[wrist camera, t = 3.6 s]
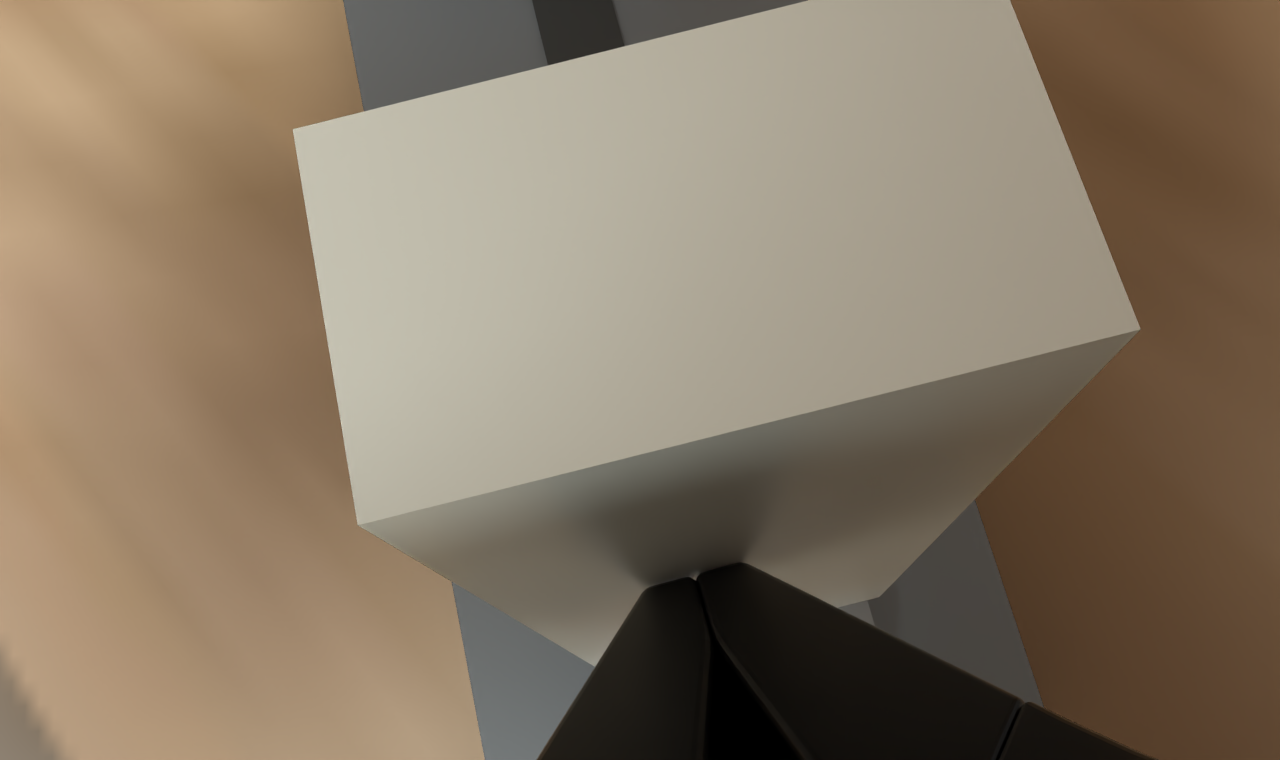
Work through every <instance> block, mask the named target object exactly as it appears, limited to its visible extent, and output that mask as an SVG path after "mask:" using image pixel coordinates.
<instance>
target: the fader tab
mask: <svg viewBox="0 0 1280 760" xmlns="http://www.w3.org/2000/svg"><path fill="white" fill-rule="evenodd" d="M293 134H294V140H295V146H296V152H297V158H298V165H299V171H300V177H301V183H302V189H303V195H304V201H305V207H306V213H307V219H308V225H309V232H310V238H311V244H312V250H313V256H314V262H315V268H316V274H317V280H318V286H319V293H320V299H321V305H322V311H323V317H324V323H325V329H326V335H327V341H328V347H329V353H330V360H331V366H332V372H333V378H334V384H335V390H336V396H337V402H338V408H339V414H340V420H341V427H342V433H343V439H344V445H345V451H346V457H347V463H348V469H349V475H350V481H351V487H352V494H353V500H354V506H355V512H356V518H357V524H358V526H360V527H361V528H363V529H365V530H366V531H368V532H370V533H372V534H373V535H375V536H377V537H378V538H380V539H382V540H383V541H385V542H387V543H388V544H390V545H392V546H393V547H395V548H397V549H398V550H400V551H402V552H403V553H405V554H407V555H408V556H410V557H412V558H413V559H415V560H417V561H418V562H420V563H422V564H423V565H425V566H427V567H428V568H430V569H432V570H433V571H435V572H437V573H439V574H440V575H442V576H444V577H445V578H447V579H449V580H450V581H452V582H454V583H455V584H457V585H459V586H460V587H462V588H464V589H465V590H467V591H469V592H470V593H472V594H474V595H475V596H477V597H479V598H480V599H482V600H484V601H485V602H487V603H489V604H490V605H492V606H494V607H495V608H497V609H499V610H500V611H502V612H504V613H505V614H507V615H509V616H511V617H512V618H514V619H516V620H517V621H519V622H521V623H522V624H524V625H526V626H527V627H529V628H531V629H532V630H534V631H536V632H537V633H539V634H541V635H542V636H544V637H546V638H547V639H549V640H551V641H552V642H554V643H556V644H557V645H559V646H561V647H562V648H564V649H566V650H567V651H569V652H571V653H572V654H574V655H576V656H578V657H579V658H581V659H583V660H584V661H586V662H588V663H589V664H591V665H593V666H594V667H595V666H596V665H597V663H598V661H599V660H600V658H601V657H602V655H603V653H604V652H605V650H606V649H607V647H608V646H609V644H610V642H611V641H612V639H613V638H614V636H615V635H616V633H617V631H618V630H619V628H620V627H621V625H622V623H623V622H624V620H625V619H626V617H627V616H628V614H629V612H630V611H631V609H632V608H633V606H634V604H635V603H636V601H637V600H638V598H639V597H640V595H641V593H642V592H643V591H644V590H645V589H646V588H648V587H650V586H653V585H657V584H661V583H665V582H668V581H672V580H676V579H680V578H683V577H691V578H693V579H694V580H695V581H696V579H697V576H698V575H699V574H700V573H702V572H706V571H709V570H713V569H717V568H720V567H724V566H727V565H731V564H735V563H739V562H742V563H747V564H750V565H752V566H754V567H756V568H758V569H760V570H762V571H764V572H766V573H768V574H770V575H772V576H774V577H776V578H778V579H780V580H782V581H784V582H786V583H788V584H790V585H792V586H794V587H796V588H798V589H800V590H803V591H805V592H807V593H809V594H811V595H813V596H815V597H817V598H819V599H821V600H823V601H825V602H827V603H829V604H831V605H833V606H835V607H837V608H839V609H841V610H843V611H845V612H847V613H849V614H851V615H853V616H855V617H857V618H859V619H861V620H863V621H865V622H867V623H869V624H871V625H873V626H875V625H874V621H873V618H872V615H871V611H870V608H869V604H868V601H867V600H870V599H874V598H878V597H880V596H881V595H882V594H883V593H884V592H885V591H886V590H887V589H888V588H889V587H890V586H891V585H892V584H893V583H894V582H895V581H896V580H897V579H898V578H899V576H900V575H901V574H902V573H903V572H904V571H905V570H906V569H907V568H908V567H909V566H910V565H911V564H912V563H913V562H914V561H915V560H916V559H917V558H918V557H919V556H920V555H921V554H922V553H923V552H924V551H925V550H926V549H927V548H928V547H929V546H930V545H931V544H932V543H933V542H934V541H935V540H936V539H937V538H938V537H939V536H940V534H941V533H942V532H943V531H944V530H945V529H946V528H947V527H948V526H949V525H950V524H951V523H952V522H953V521H954V520H955V519H956V518H957V517H958V516H959V515H960V514H961V513H962V512H963V511H964V510H965V509H966V508H967V507H968V506H969V505H970V504H971V503H972V502H973V501H974V500H975V499H976V498H977V497H978V496H979V495H980V493H981V492H982V491H983V490H984V489H985V488H986V487H987V486H988V485H989V484H990V483H991V482H992V481H993V480H994V479H995V478H996V477H997V476H998V475H999V474H1000V473H1001V472H1002V471H1003V470H1004V469H1005V468H1006V467H1007V466H1008V465H1009V464H1010V463H1011V462H1012V461H1013V460H1014V459H1015V458H1016V457H1017V456H1018V455H1019V454H1020V453H1021V451H1022V450H1023V449H1024V448H1025V447H1026V446H1027V445H1028V444H1029V443H1030V442H1031V441H1032V440H1033V439H1034V438H1035V437H1036V436H1037V435H1038V434H1039V433H1040V432H1041V431H1042V430H1043V429H1044V428H1045V427H1046V426H1047V425H1048V424H1049V423H1050V422H1051V421H1052V420H1053V419H1054V418H1055V417H1056V416H1057V415H1058V414H1059V413H1060V412H1061V411H1062V409H1063V408H1064V407H1065V406H1066V405H1067V404H1068V403H1069V402H1070V401H1071V400H1072V399H1073V398H1074V397H1075V396H1076V395H1077V394H1078V393H1079V392H1080V391H1081V390H1082V389H1083V388H1084V387H1085V386H1086V385H1087V384H1088V383H1089V382H1090V381H1091V380H1092V379H1093V378H1094V377H1095V376H1096V375H1097V374H1098V373H1099V372H1100V371H1101V370H1102V369H1103V367H1104V366H1105V365H1106V364H1107V363H1108V362H1109V361H1110V360H1111V359H1112V358H1113V357H1114V356H1115V355H1116V354H1117V353H1118V352H1119V351H1120V350H1121V349H1122V348H1123V347H1124V346H1125V345H1126V344H1127V343H1128V342H1129V341H1130V340H1131V339H1132V338H1133V337H1134V336H1135V335H1136V334H1137V333H1138V332H1139V331H1140V330H1141V329H1140V326H1139V324H1138V321H1137V319H1136V316H1135V314H1134V311H1133V309H1132V306H1131V303H1130V301H1129V298H1128V296H1127V293H1126V291H1125V288H1124V286H1123V283H1122V281H1121V278H1120V276H1119V273H1118V271H1117V268H1116V266H1115V263H1114V261H1113V258H1112V256H1111V253H1110V251H1109V248H1108V246H1107V243H1106V241H1105V238H1104V236H1103V233H1102V230H1101V228H1100V225H1099V223H1098V220H1097V218H1096V215H1095V213H1094V210H1093V208H1092V205H1091V203H1090V200H1089V198H1088V195H1087V193H1086V190H1085V188H1084V185H1083V183H1082V180H1081V178H1080V175H1079V173H1078V170H1077V168H1076V165H1075V162H1074V160H1073V157H1072V155H1071V152H1070V150H1069V147H1068V145H1067V142H1066V140H1065V137H1064V135H1063V132H1062V130H1061V127H1060V125H1059V122H1058V120H1057V117H1056V115H1055V112H1054V110H1053V107H1052V105H1051V102H1050V100H1049V97H1048V94H1047V92H1046V89H1045V87H1044V84H1043V82H1042V79H1041V77H1040V74H1039V72H1038V69H1037V67H1036V64H1035V62H1034V59H1033V57H1032V54H1031V52H1030V49H1029V47H1028V44H1027V42H1026V39H1025V37H1024V34H1023V32H1022V29H1021V26H1020V24H1019V21H1018V19H1017V16H1016V14H1015V11H1014V9H1013V6H1012V4H1011V1H1010V0H808V1H804V2H800V3H796V4H792V5H788V6H784V7H780V8H776V9H772V10H768V11H764V12H760V13H756V14H752V15H748V16H744V17H740V18H736V19H732V20H728V21H724V22H720V23H716V24H712V25H708V26H704V27H700V28H696V29H692V30H688V31H684V32H680V33H676V34H672V35H668V36H664V37H660V38H656V39H652V40H648V41H644V42H640V43H636V44H632V45H628V46H624V47H620V48H616V49H612V50H608V51H604V52H600V53H596V54H592V55H588V56H584V57H580V58H576V59H572V60H568V61H564V62H560V63H556V64H552V65H548V66H544V67H540V68H536V69H532V70H528V71H524V72H520V73H516V74H512V75H508V76H504V77H500V78H496V79H492V80H488V81H484V82H480V83H476V84H472V85H468V86H464V87H460V88H456V89H452V90H448V91H444V92H440V93H436V94H432V95H428V96H424V97H420V98H416V99H412V100H408V101H404V102H400V103H396V104H392V105H388V106H384V107H380V108H376V109H372V110H368V111H364V112H360V113H356V114H352V115H348V116H344V117H340V118H336V119H332V120H328V121H324V122H320V123H316V124H312V125H308V126H304V127H300V128H296V129H293Z"/></svg>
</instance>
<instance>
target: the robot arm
mask: <svg viewBox="0 0 1280 760" xmlns="http://www.w3.org/2000/svg"><path fill="white" fill-rule="evenodd" d="M536 760H1158V759H1156V758H1153V757H1150V756H1148V755H1145V754H1143V753H1140V752H1138V751H1136V750H1134V749H1132V748H1129V747H1127V746H1125V745H1123V744H1121V743H1119V742H1116V741H1114V740H1112V739H1110V738H1108V737H1105V736H1103V735H1101V734H1099V733H1097V732H1094V731H1092V730H1090V729H1088V728H1086V727H1083V726H1081V725H1079V724H1077V723H1075V722H1072V721H1070V720H1068V719H1066V718H1064V717H1062V716H1060V715H1058V714H1056V713H1054V712H1052V711H1050V710H1048V709H1046V708H1044V707H1042V706H1040V705H1038V704H1036V703H1034V702H1026V703H1025V702H1024V701H1023V700H1022V699H1021V698H1019V697H1017V696H1015V695H1013V694H1011V693H1009V692H1007V691H1005V690H1003V689H1001V688H999V687H997V686H995V685H993V684H991V683H989V682H987V681H985V680H983V679H981V678H979V677H977V676H975V675H973V674H971V673H969V672H967V671H965V670H963V669H961V668H959V667H957V666H955V665H952V664H950V663H948V662H946V661H944V660H942V659H940V658H938V657H936V656H934V655H932V654H930V653H928V652H926V651H924V650H922V649H920V648H918V647H916V646H914V645H912V644H910V643H908V642H906V641H904V640H902V639H900V638H898V637H896V636H894V635H892V634H890V633H888V632H886V631H884V630H882V629H880V628H877V627H875V626H873V625H871V624H869V623H867V622H865V621H863V620H861V619H859V618H857V617H855V616H853V615H851V614H849V613H847V612H845V611H843V610H841V609H839V608H837V607H835V606H833V605H831V604H829V603H827V602H825V601H823V600H821V599H819V598H817V597H815V596H813V595H811V594H809V593H807V592H805V591H803V590H800V589H798V588H796V587H794V586H792V585H790V584H788V583H786V582H784V581H782V580H780V579H778V578H776V577H774V576H772V575H770V574H768V573H766V572H764V571H762V570H760V569H758V568H756V567H754V566H752V565H750V564H747V563H742V562H739V563H735V564H731V565H727V566H724V567H720V568H717V569H713V570H709V571H706V572H702V573H700V574H699V575H698V576H697V579H696V581H695V580H694V579H693V578H691V577H683V578H680V579H676V580H672V581H668V582H665V583H661V584H657V585H653V586H650V587H648V588H646V589H645V590H644V591H643V592H642V593H641V595H640V597H639V598H638V600H637V601H636V603H635V604H634V606H633V608H632V609H631V611H630V612H629V614H628V616H627V617H626V619H625V620H624V622H623V623H622V625H621V627H620V628H619V630H618V631H617V633H616V635H615V636H614V638H613V639H612V641H611V642H610V644H609V646H608V647H607V649H606V650H605V652H604V653H603V655H602V657H601V658H600V660H599V661H598V663H597V665H596V666H595V668H594V669H593V671H592V672H591V674H590V676H589V677H588V679H587V680H586V682H585V684H584V685H583V687H582V688H581V690H580V691H579V693H578V695H577V696H576V698H575V699H574V701H573V703H572V704H571V706H570V707H569V709H568V710H567V712H566V714H565V715H564V717H563V718H562V720H561V721H560V723H559V725H558V726H557V728H556V729H555V731H554V733H553V734H552V736H551V737H550V739H549V740H548V742H547V744H546V745H545V747H544V748H543V750H542V752H541V753H540V755H539V756H538V758H537V759H536Z"/></svg>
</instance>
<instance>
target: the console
mask: <svg viewBox="0 0 1280 760" xmlns="http://www.w3.org/2000/svg"><path fill="white" fill-rule="evenodd" d="M804 1H808V0H343V2H344V7H345V13H346V18H347V23H348V29H349V34H350V40H351V45H352V50H353V56H354V61H355V66H356V72H357V77H358V82H359V88H360V93H361V98H362V104H363V109H364V111H368V110H372V109H376V108H380V107H384V106H388V105H392V104H396V103H400V102H404V101H408V100H412V99H416V98H420V97H424V96H428V95H432V94H436V93H440V92H444V91H448V90H452V89H456V88H460V87H464V86H468V85H472V84H476V83H480V82H484V81H488V80H492V79H496V78H500V77H504V76H508V75H512V74H516V73H520V72H524V71H528V70H532V69H536V68H540V67H544V66H548V65H552V64H556V63H560V62H564V61H568V60H572V59H576V58H580V57H584V56H588V55H592V54H596V53H600V52H604V51H608V50H612V49H616V48H620V47H624V46H628V45H632V44H636V43H640V42H644V41H648V40H652V39H656V38H660V37H664V36H668V35H672V34H676V33H680V32H684V31H688V30H692V29H696V28H700V27H704V26H708V25H712V24H716V23H720V22H724V21H728V20H732V19H736V18H740V17H744V16H748V15H752V14H756V13H760V12H764V11H768V10H772V9H776V8H780V7H784V6H788V5H792V4H796V3H800V2H804ZM452 586H453V591H454V597H455V602H456V607H457V613H458V618H459V623H460V629H461V634H462V639H463V645H464V650H465V655H466V661H467V666H468V672H469V677H470V682H471V688H472V693H473V698H474V704H475V709H476V714H477V720H478V725H479V730H480V736H481V741H482V746H483V752H484V757H485V760H536V759H537V758H538V756H539V755H540V753H541V752H542V750H543V748H544V747H545V745H546V744H547V742H548V740H549V739H550V737H551V736H552V734H553V733H554V731H555V729H556V728H557V726H558V725H559V723H560V721H561V720H562V718H563V717H564V715H565V714H566V712H567V710H568V709H569V707H570V706H571V704H572V703H573V701H574V699H575V698H576V696H577V695H578V693H579V691H580V690H581V688H582V687H583V685H584V684H585V682H586V680H587V679H588V677H589V676H590V674H591V672H592V671H593V669H594V668H595V667H594V666H593V665H591V664H589V663H588V662H586V661H584V660H583V659H581V658H579V657H578V656H576V655H574V654H572V653H571V652H569V651H567V650H566V649H564V648H562V647H561V646H559V645H557V644H556V643H554V642H552V641H551V640H549V639H547V638H546V637H544V636H542V635H541V634H539V633H537V632H536V631H534V630H532V629H531V628H529V627H527V626H526V625H524V624H522V623H521V622H519V621H517V620H516V619H514V618H512V617H511V616H509V615H507V614H505V613H504V612H502V611H500V610H499V609H497V608H495V607H494V606H492V605H490V604H489V603H487V602H485V601H484V600H482V599H480V598H479V597H477V596H475V595H474V594H472V593H470V592H469V591H467V590H465V589H464V588H462V587H460V586H459V585H457V584H455V583H454V582H452ZM867 601H868V604H869V608H870V611H871V615H872V618H873V621H874V625H875V627H877V628H880V629H882V630H884V631H886V632H888V633H890V634H892V635H894V636H896V637H898V638H900V639H902V640H904V641H906V642H908V643H910V644H912V645H914V646H916V647H918V648H920V649H922V650H924V651H926V652H928V653H930V654H932V655H934V656H936V657H938V658H940V659H942V660H944V661H946V662H948V663H950V664H952V665H955V666H957V667H959V668H961V669H963V670H965V671H967V672H969V673H971V674H973V675H975V676H977V677H979V678H981V679H983V680H985V681H987V682H989V683H991V684H993V685H995V686H997V687H999V688H1001V689H1003V690H1005V691H1007V692H1009V693H1011V694H1013V695H1015V696H1017V697H1019V698H1021V699H1022V700H1023V701H1024V702H1025V703H1026V702H1034V703H1036V704H1038V705H1040V706H1042V707H1044V706H1043V703H1042V700H1041V697H1040V694H1039V691H1038V688H1037V685H1036V682H1035V679H1034V676H1033V673H1032V670H1031V667H1030V664H1029V661H1028V658H1027V655H1026V652H1025V649H1024V646H1023V643H1022V640H1021V637H1020V634H1019V631H1018V628H1017V625H1016V622H1015V619H1014V616H1013V613H1012V610H1011V607H1010V604H1009V601H1008V598H1007V595H1006V592H1005V589H1004V586H1003V583H1002V580H1001V577H1000V574H999V571H998V568H997V565H996V562H995V559H994V556H993V553H992V550H991V547H990V544H989V541H988V538H987V535H986V532H985V529H984V526H983V523H982V520H981V517H980V514H979V511H978V508H977V505H976V502H975V500H974V501H973V502H972V503H971V504H970V505H969V506H968V507H967V508H966V509H965V510H964V511H963V512H962V513H961V514H960V515H959V516H958V517H957V518H956V519H955V520H954V521H953V522H952V523H951V524H950V525H949V526H948V527H947V528H946V529H945V530H944V531H943V532H942V533H941V534H940V536H939V537H938V538H937V539H936V540H935V541H934V542H933V543H932V544H931V545H930V546H929V547H928V548H927V549H926V550H925V551H924V552H923V553H922V554H921V555H920V556H919V557H918V558H917V559H916V560H915V561H914V562H913V563H912V564H911V565H910V566H909V567H908V568H907V569H906V570H905V571H904V572H903V573H902V574H901V575H900V576H899V578H898V579H897V580H896V581H895V582H894V583H893V584H892V585H891V586H890V587H889V588H888V589H887V590H886V591H885V592H884V593H883V594H882V595H881V596H880V597H878V598H874V599H870V600H867Z"/></svg>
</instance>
